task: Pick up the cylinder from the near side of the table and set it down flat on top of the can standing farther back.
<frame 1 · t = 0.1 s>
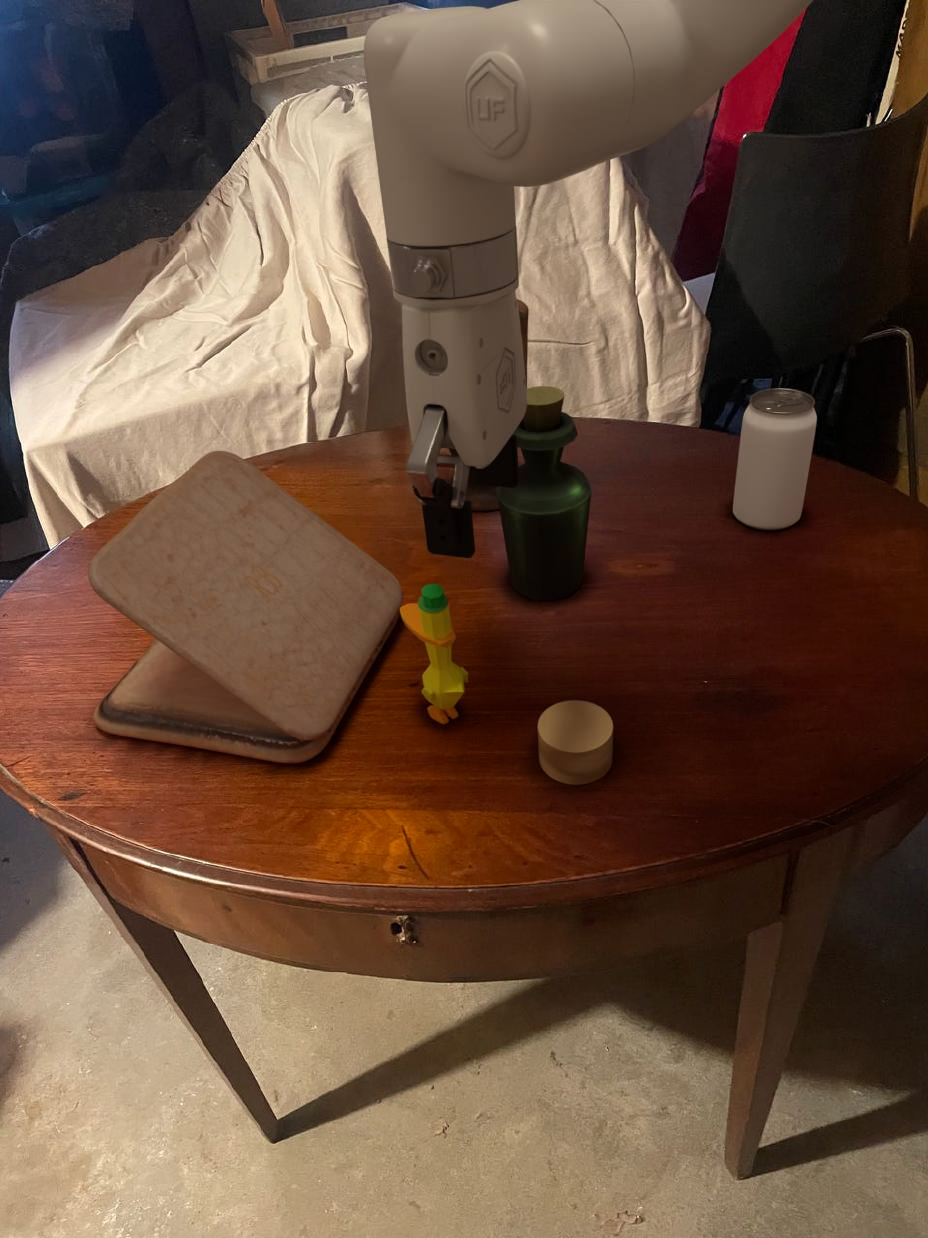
hand: (476, 517, 62), 15 cm above the table, tool pointing down, fingers open, 9 cm apart
cylinder: (575, 757, 62), on the table
potion bottle: (546, 583, 81), on the table
toy figure: (442, 714, 68), on the table
can: (765, 516, 87), on the table
case: (259, 671, 74), on the table
vase: (486, 494, 95), on the table
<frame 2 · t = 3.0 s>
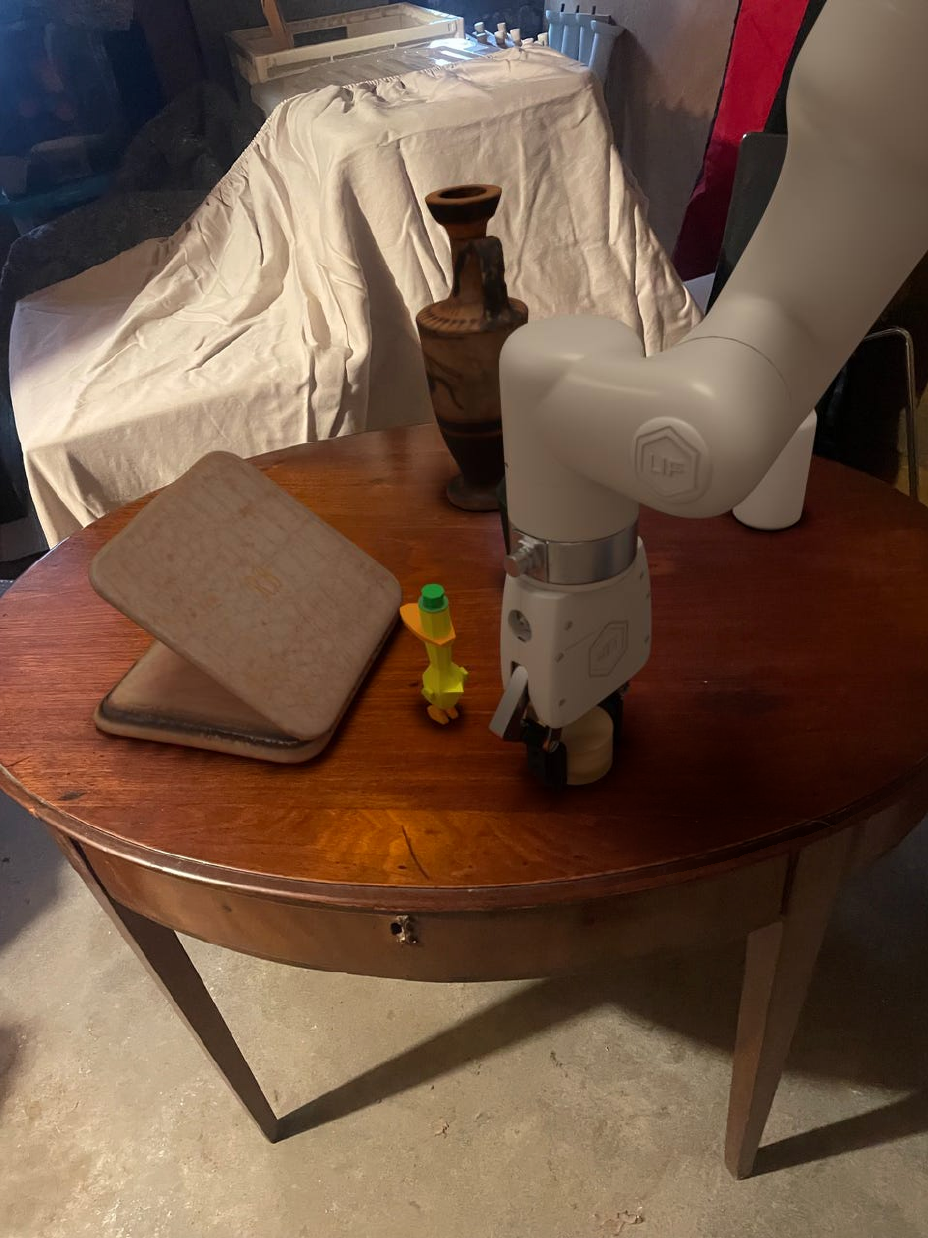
hand: (575, 753, 62), 0 cm above the table, tool pointing down, fingers closed on cylinder, 5 cm apart
cylinder: (575, 757, 62), on the table, touching gripper
everything else where it was.
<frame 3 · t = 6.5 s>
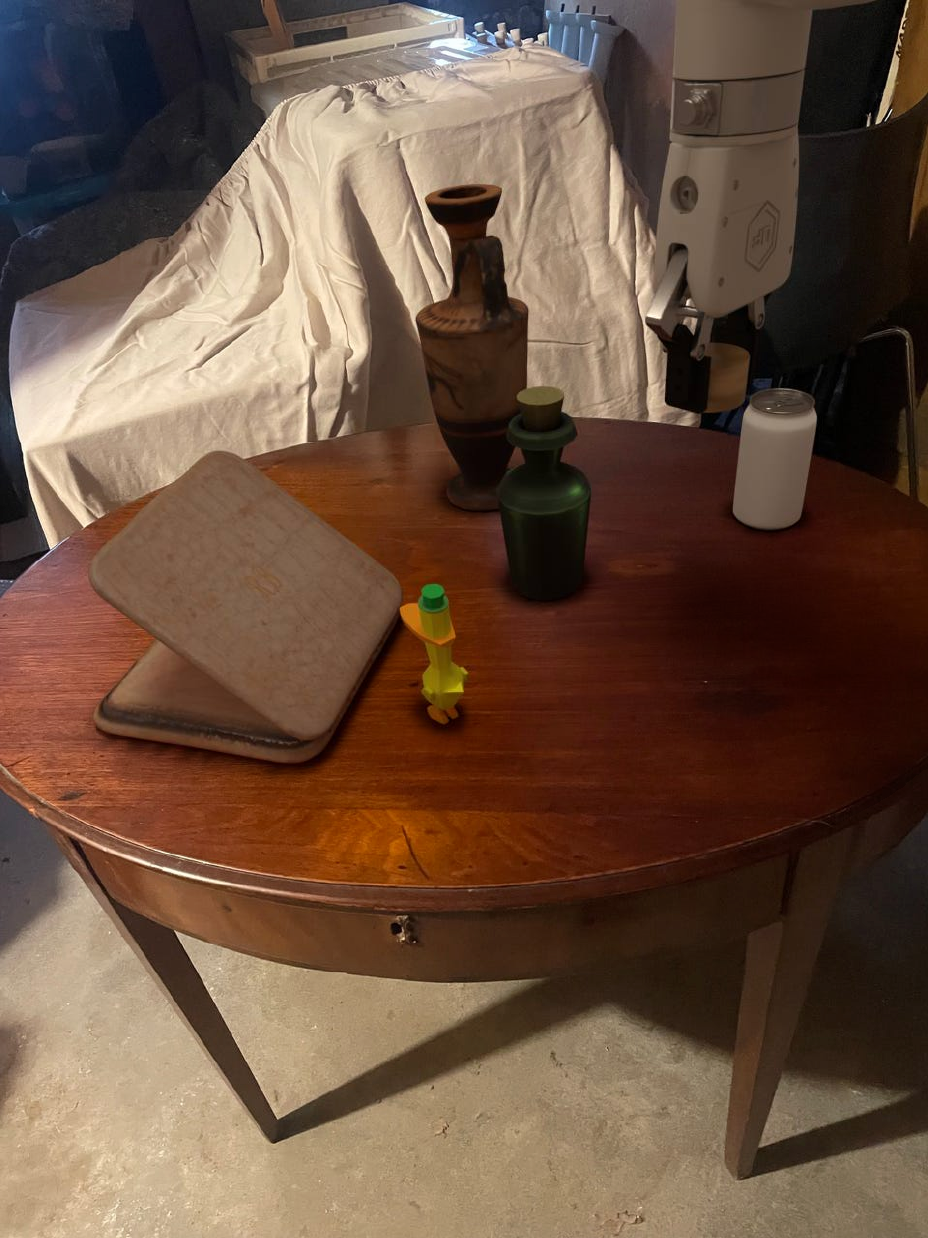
hand: (709, 392, 64), 20 cm above the table, tool pointing down, fingers closed on cylinder, 5 cm apart
cylinder: (707, 398, 64), point 19 cm above the table, touching gripper
everything else where it was.
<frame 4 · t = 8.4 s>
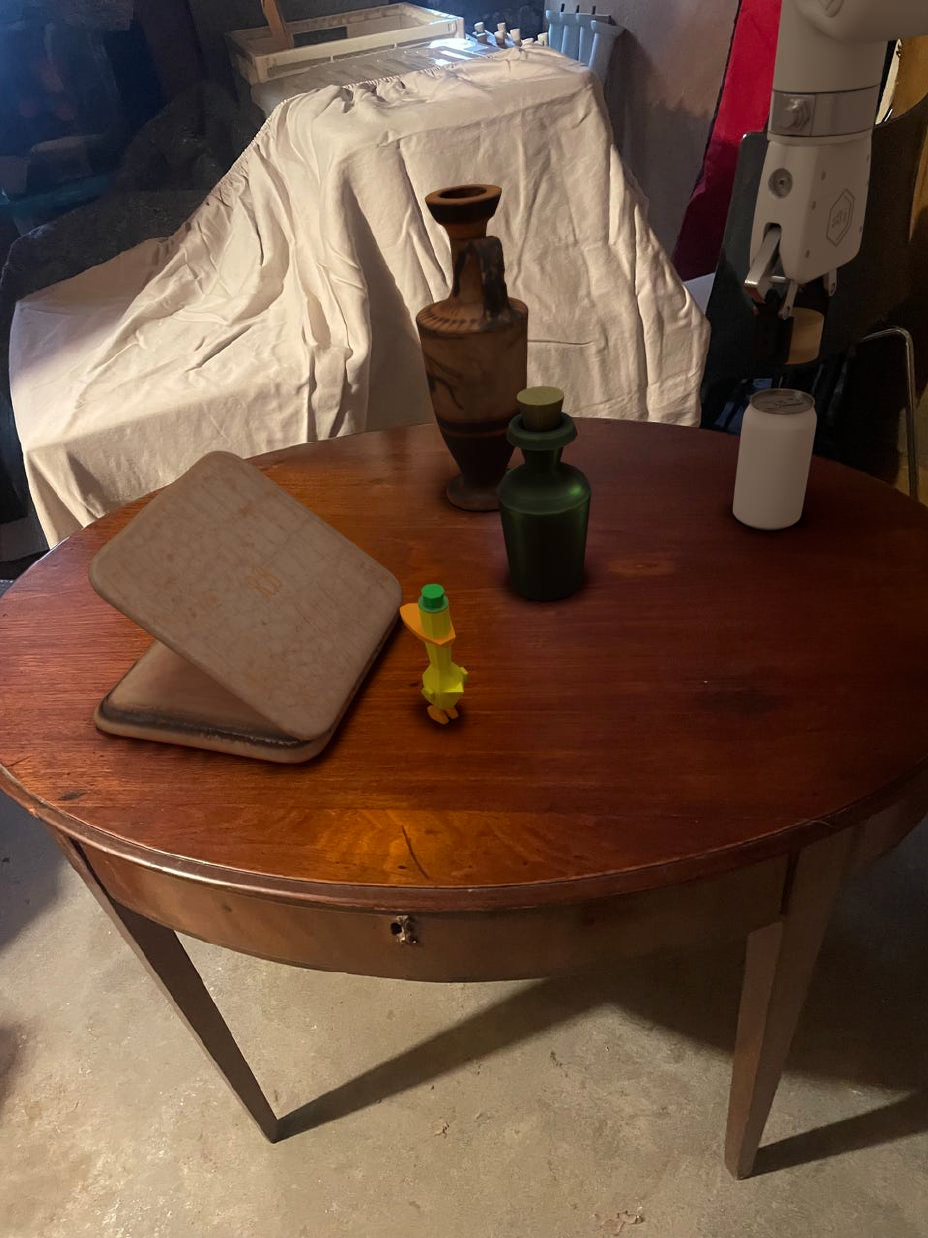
hand: (788, 348, 77), 17 cm above the table, tool pointing down, fingers closed on cylinder, 5 cm apart
cylinder: (786, 353, 77), point 16 cm above the table, touching gripper
everything else where it was.
when the fingers open (12 cm above the table, at t = 9.9 s): cylinder stays where it is, resting on can.
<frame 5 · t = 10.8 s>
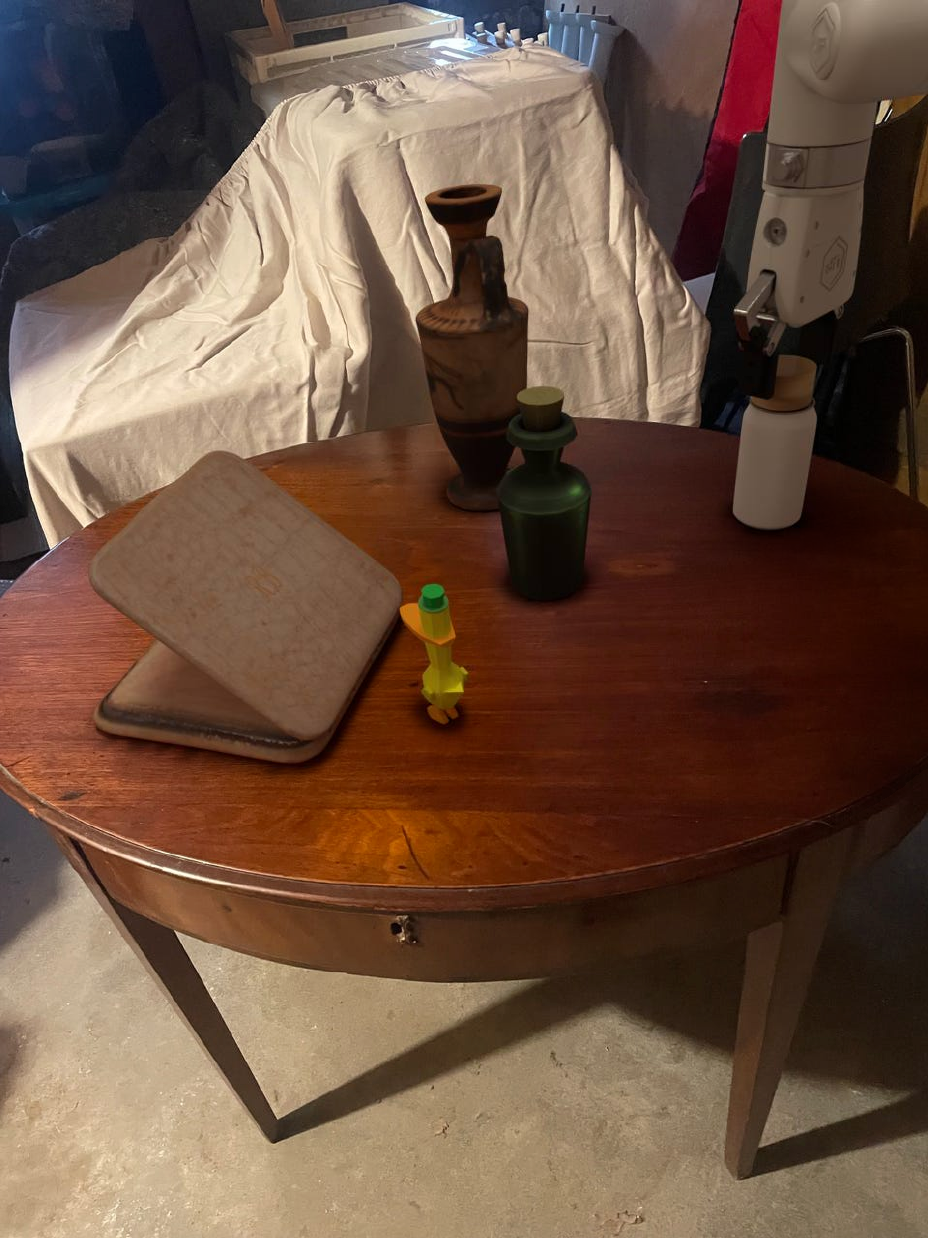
hand: (785, 377, 78), 14 cm above the table, tool pointing down, fingers open, 9 cm apart
cylinder: (780, 399, 80), point 12 cm above the table, touching can
can: (765, 516, 87), on the table, touching cylinder
everything else where it was.
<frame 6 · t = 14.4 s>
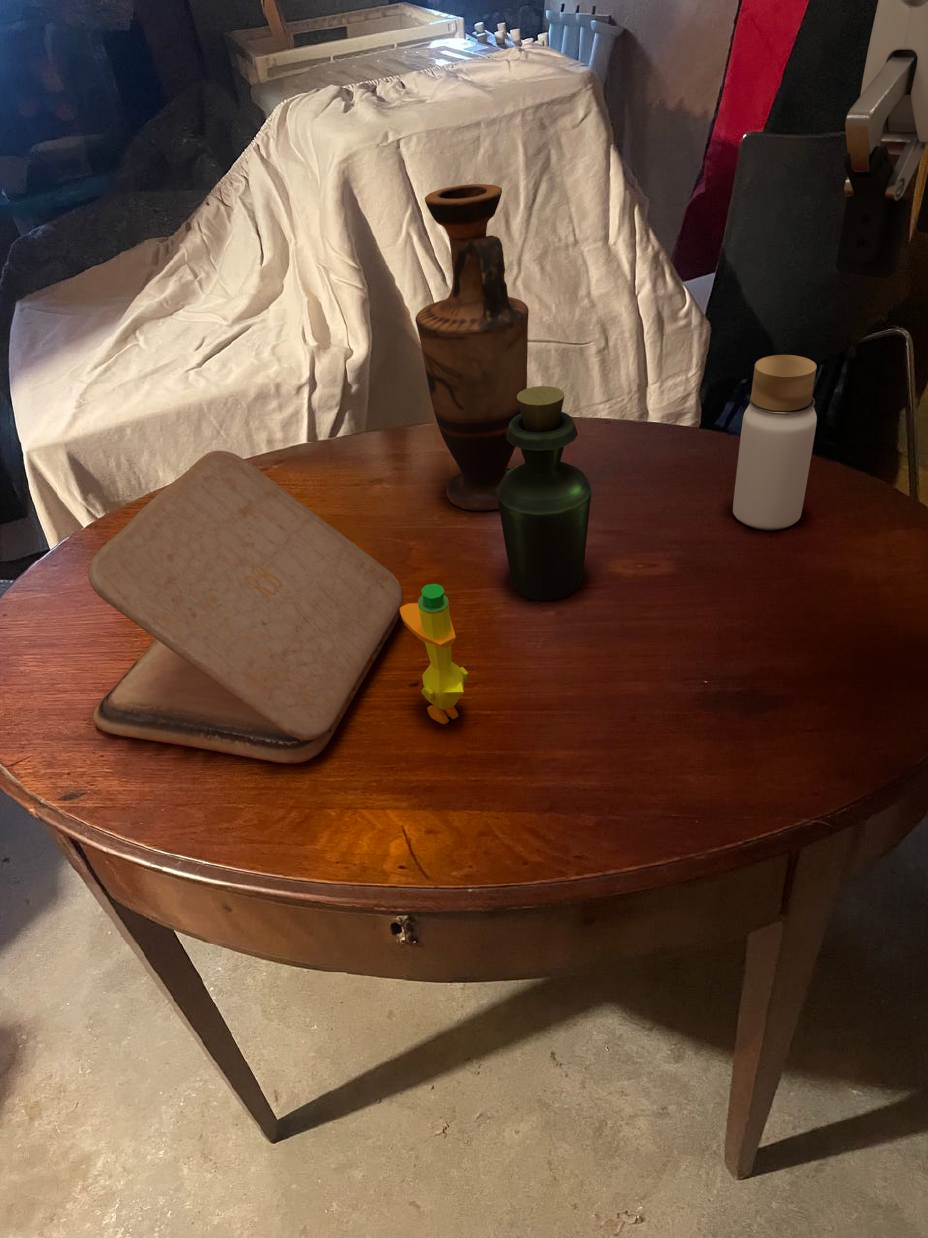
hand: (905, 252, 51), 30 cm above the table, tool pointing down, fingers open, 9 cm apart
nothing on the table moved.
at the end: cylinder 0.1 cm off-centre on the can, point 12.2 cm above the can's base; cylinder tilted 0°; the gripper is holding nothing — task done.
